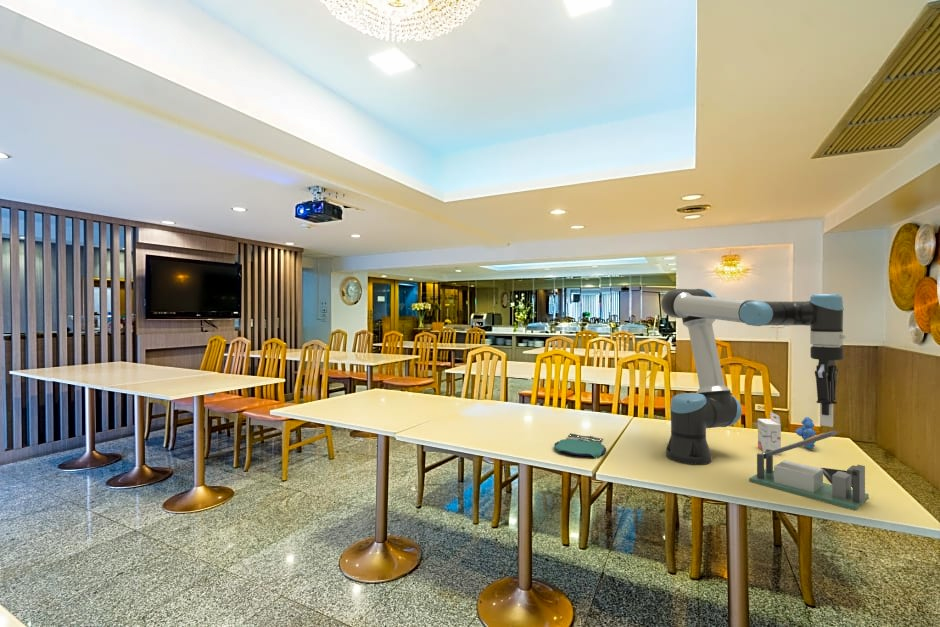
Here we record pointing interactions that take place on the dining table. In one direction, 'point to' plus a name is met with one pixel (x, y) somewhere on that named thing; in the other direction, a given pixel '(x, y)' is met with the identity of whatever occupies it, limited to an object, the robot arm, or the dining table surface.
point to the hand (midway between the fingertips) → (826, 425)
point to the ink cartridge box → (769, 433)
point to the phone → (830, 472)
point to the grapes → (807, 431)
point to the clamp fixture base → (813, 482)
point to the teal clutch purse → (581, 446)
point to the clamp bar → (800, 443)
